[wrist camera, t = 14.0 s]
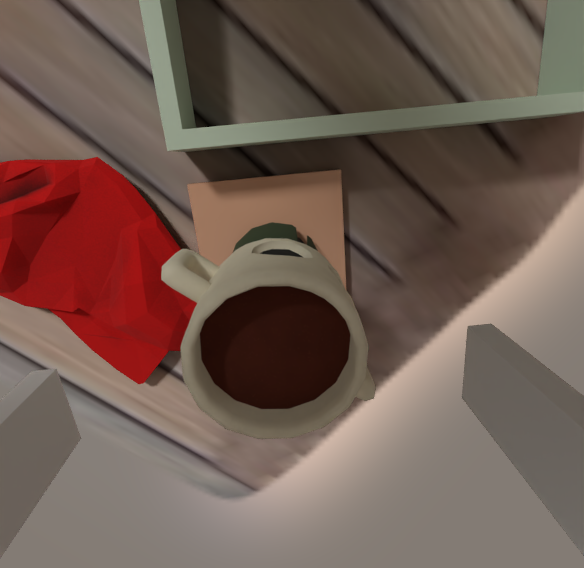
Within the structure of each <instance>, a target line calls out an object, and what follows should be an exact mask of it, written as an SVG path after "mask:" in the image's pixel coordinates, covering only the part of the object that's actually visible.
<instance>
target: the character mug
mask: <svg viewBox="0 0 584 568" xmlns="http://www.w3.org/2000/svg"><path fill="white" fill-rule="evenodd" d="M161 280H162V281H164V282H165V283H166V284H167V285H169V286H170V287H171V288H173V289H174V290H176V291H178V292H179V293H181V294H183V295H185V296H186V297H188V298H190V299H191V300H193V301H195V302H196V303H197V305H196V307H195V309H194V311H193V314H192V316H191V319H190V322H189V324H188V327H187V329H186V332H185V335H184V337H183V340H182V343H181V347H180V349H181V360H182V371H183V380H184V382H185V384H186V386H187V387H188V389H189V391H190V393H191V394H192V396H193V398H194V400H195V402H196V403H197V405H198V407H199V408H200V409H201V410H202V411H203V412H205V413H206V414H207V415H209V416H210V417H211V418H212V419H214V420H215V421H216V422H217V423H219V424H220V425H221V426H223V427H224V428H225V429H228V430H231V431H234V432H237V433H241V434H244V435H247V436H250V437H254V438H257V439H276V438H294V437H297V436H300V435H303V434H306V433H309V432H311V431H314V430H317V429H320V428H323V427H325V426H326V425H327V424H329V423H330V422H331V421H333V420H334V419H335V418H336V417H338V416H339V415H340V414H341V413H343V412H344V411H345V410H346V409H348V408H349V407H350V406H351V404H352V402H353V400H354V398H355V397H357V398H359V399H361V400H364V401H367V400H370V399H373V398H374V395H375V390H376V386H375V383H374V381H373V379H372V377H371V374H370V372H369V370H368V367H367V358H368V349H369V347H368V342H367V338H366V335H365V332H364V329H363V326H362V323H361V320H360V317H359V314H358V312H357V310H356V308H355V305H354V302H353V300H352V297H351V296H350V295H349V293H348V292H347V291H346V289H345V287H344V285H343V283H342V280H341V278H340V276H339V273H338V272H337V271H336V270H335V269H334V267H333V266H332V265H331V264H330V263H329V261H328V260H327V259H326V258H325V257H324V256H323V255H322V254H320V253H319V252H318V250H317V248H316V246H315V245H314V243H313V241H312V239H311V238H310V237H309V236H307V245H306V244H304V242H303V241H302V240H301V239H300V238H299V237H297V230H296V227H294V226H293V225H290V224H282V223H274V222H271V223H268V224H265V225H261V226H258V227H255V228H252V229H250V230H249V231H248V232H247V233H246V234H245V235H244V236H243V237H242V238H241V239H240V240H239V241H238V242H237V243H236V245H235V248H234V250H233V253H232V254H231V255H230V256H229V257H228V258H227V259H226V260H225V261H224V262H223V263H222V264H221V265H220V266H217V265H216V264H214V263H213V262H211V261H209V260H208V259H206V258H205V257H203V256H201V255H200V254H198V253H196V252H194V251H192V250H189V249H181V250H180V251H178V252H177V253H175V254H174V255H173V256H172V257H171V258H170V259H169V260H168V261H167V262H166V263H165V264H164V265H163V266H162V273H161Z"/></svg>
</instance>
